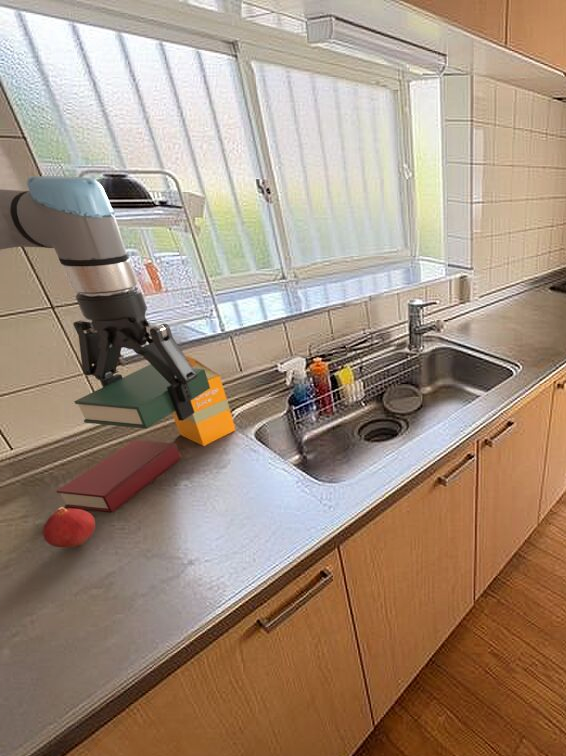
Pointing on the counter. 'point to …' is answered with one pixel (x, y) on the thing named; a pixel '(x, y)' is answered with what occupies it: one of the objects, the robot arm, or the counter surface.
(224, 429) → the orange juice
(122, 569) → the counter surface
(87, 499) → the burgundy book
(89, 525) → the pomegranate
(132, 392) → the green book
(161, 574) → the counter surface
